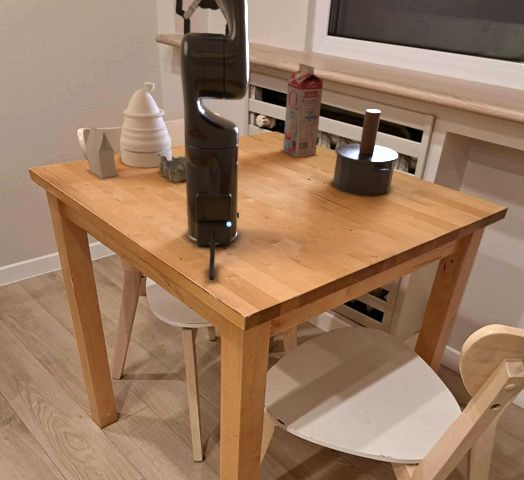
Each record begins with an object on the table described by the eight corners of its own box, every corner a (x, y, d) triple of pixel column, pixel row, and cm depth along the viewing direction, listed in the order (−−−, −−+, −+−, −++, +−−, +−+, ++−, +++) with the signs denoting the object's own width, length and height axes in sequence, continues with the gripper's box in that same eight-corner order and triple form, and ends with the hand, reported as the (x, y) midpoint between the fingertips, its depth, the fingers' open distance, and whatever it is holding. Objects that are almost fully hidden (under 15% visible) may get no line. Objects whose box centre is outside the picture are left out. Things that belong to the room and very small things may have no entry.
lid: (351, 167, 116) (358, 119, 110) (325, 149, 127) (330, 104, 121) (408, 164, 120) (418, 117, 114) (378, 147, 131) (386, 103, 125)
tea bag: (102, 178, 123) (96, 133, 117) (89, 170, 127) (83, 127, 121) (116, 175, 125) (111, 131, 119) (103, 168, 129) (98, 125, 123)
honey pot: (167, 151, 143) (163, 78, 132) (176, 166, 133) (172, 88, 122) (119, 153, 139) (111, 78, 129) (124, 168, 129) (115, 88, 119)
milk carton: (295, 157, 145) (303, 67, 132) (283, 150, 149) (289, 63, 136) (315, 154, 147) (324, 66, 134) (302, 148, 152) (310, 62, 139)
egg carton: (157, 169, 130) (156, 152, 128) (186, 167, 133) (185, 150, 130) (169, 183, 122) (168, 165, 120) (200, 180, 125) (199, 163, 123)
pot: (353, 201, 119) (358, 168, 114) (320, 174, 133) (323, 144, 129) (405, 197, 122) (412, 165, 118) (368, 172, 137) (373, 142, 132)
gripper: (174, -55, 106) (173, 38, 115) (244, -46, 107) (238, 45, 116) (178, -50, 112) (177, 37, 121) (244, -42, 113) (239, 44, 122)
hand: (207, 41), depth 118 cm, fingers open, 8 cm apart
